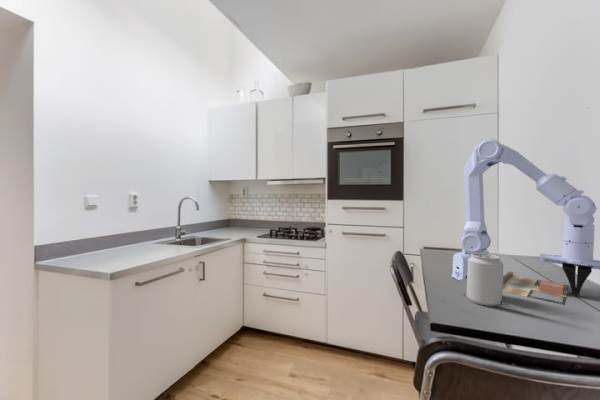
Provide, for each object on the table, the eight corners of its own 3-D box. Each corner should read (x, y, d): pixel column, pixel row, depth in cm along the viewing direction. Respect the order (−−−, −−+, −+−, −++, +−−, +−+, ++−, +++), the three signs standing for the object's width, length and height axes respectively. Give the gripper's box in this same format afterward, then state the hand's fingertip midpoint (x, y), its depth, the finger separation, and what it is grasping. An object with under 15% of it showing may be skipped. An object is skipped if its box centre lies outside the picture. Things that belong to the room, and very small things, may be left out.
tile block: (539, 290, 75) (540, 283, 75) (541, 287, 78) (541, 280, 78) (562, 295, 72) (562, 287, 72) (563, 291, 75) (563, 284, 75)
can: (495, 298, 73) (497, 253, 72) (506, 309, 65) (508, 259, 65) (463, 294, 75) (464, 250, 75) (470, 304, 68) (472, 256, 68)
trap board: (493, 294, 75) (493, 285, 75) (509, 279, 91) (509, 271, 91) (564, 311, 65) (564, 300, 65) (568, 290, 81) (568, 281, 81)
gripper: (539, 239, 74) (537, 290, 74) (622, 248, 64) (619, 306, 64) (542, 237, 79) (540, 284, 79) (619, 244, 68) (617, 299, 69)
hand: (575, 294), depth 72 cm, fingers closed
